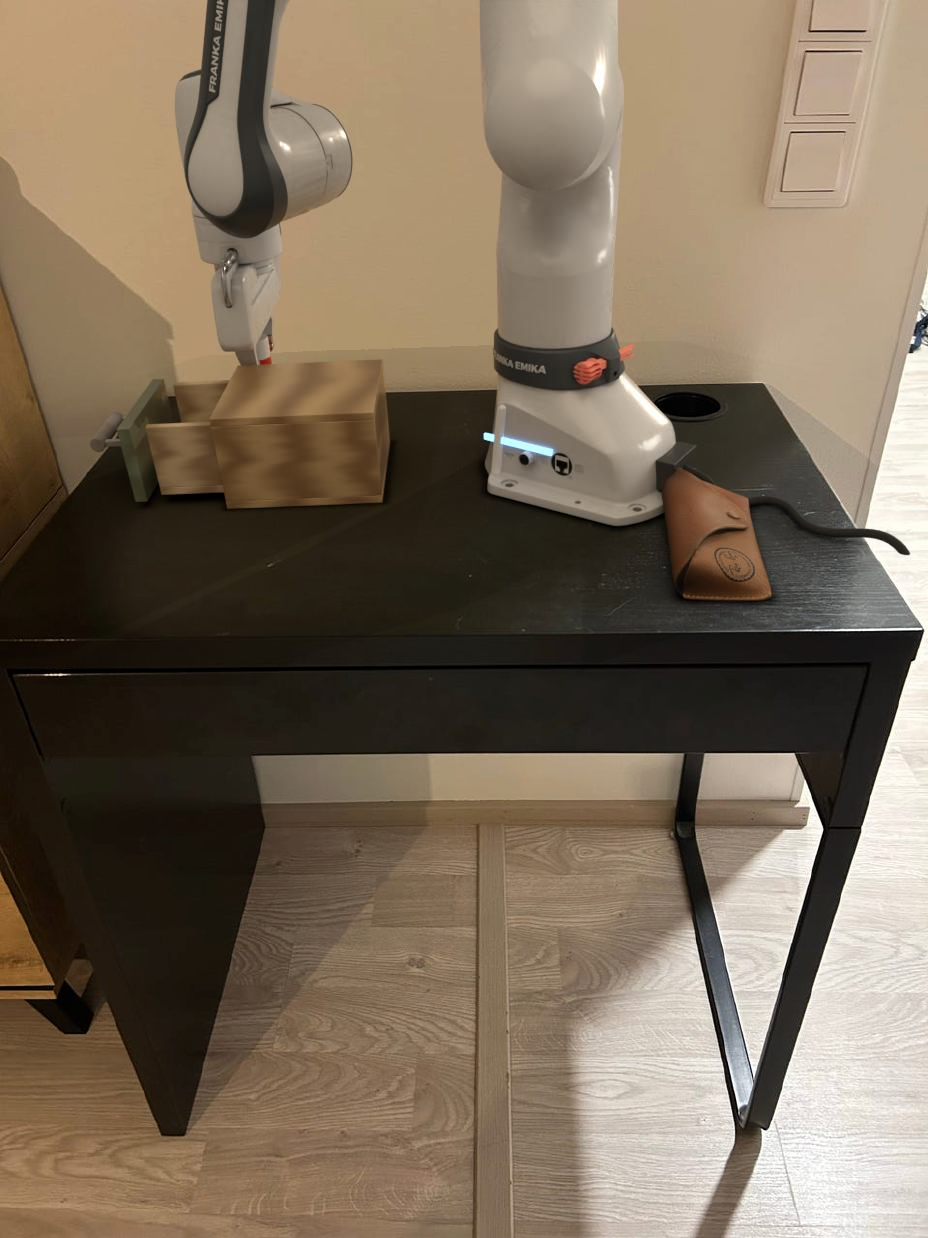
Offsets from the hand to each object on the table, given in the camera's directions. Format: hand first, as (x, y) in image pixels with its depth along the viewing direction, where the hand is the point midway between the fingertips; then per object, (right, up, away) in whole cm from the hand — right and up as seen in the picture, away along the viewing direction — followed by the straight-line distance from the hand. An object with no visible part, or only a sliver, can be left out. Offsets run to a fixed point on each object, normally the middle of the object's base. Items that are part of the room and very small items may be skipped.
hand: (260, 363), depth 110 cm
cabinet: (+8, -14, -9) cm, 18 cm away
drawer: (-4, -14, -9) cm, 17 cm away
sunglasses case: (+46, -23, -24) cm, 57 cm away
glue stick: (0, -6, +4) cm, 7 cm away
